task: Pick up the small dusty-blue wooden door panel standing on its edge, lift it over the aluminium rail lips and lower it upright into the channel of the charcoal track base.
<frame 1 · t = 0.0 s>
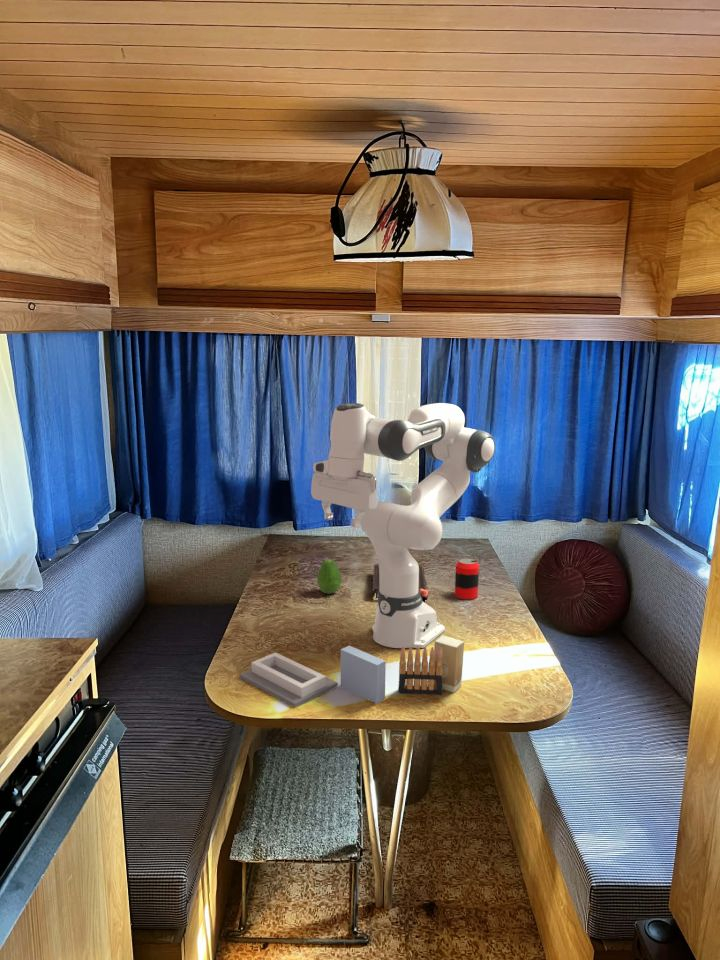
hand: (341, 522, 182), 39 cm above the table, tool pointing down, fingers open, 8 cm apart
door panel: (362, 693, 176), on the table
track base: (288, 682, 181), on the table
ammunition clip: (420, 693, 177), on the table
soda can: (466, 596, 240), on the table
diary: (398, 589, 247), on the table
skincare box: (447, 687, 180), on the table
avocado: (329, 593, 241), on the table
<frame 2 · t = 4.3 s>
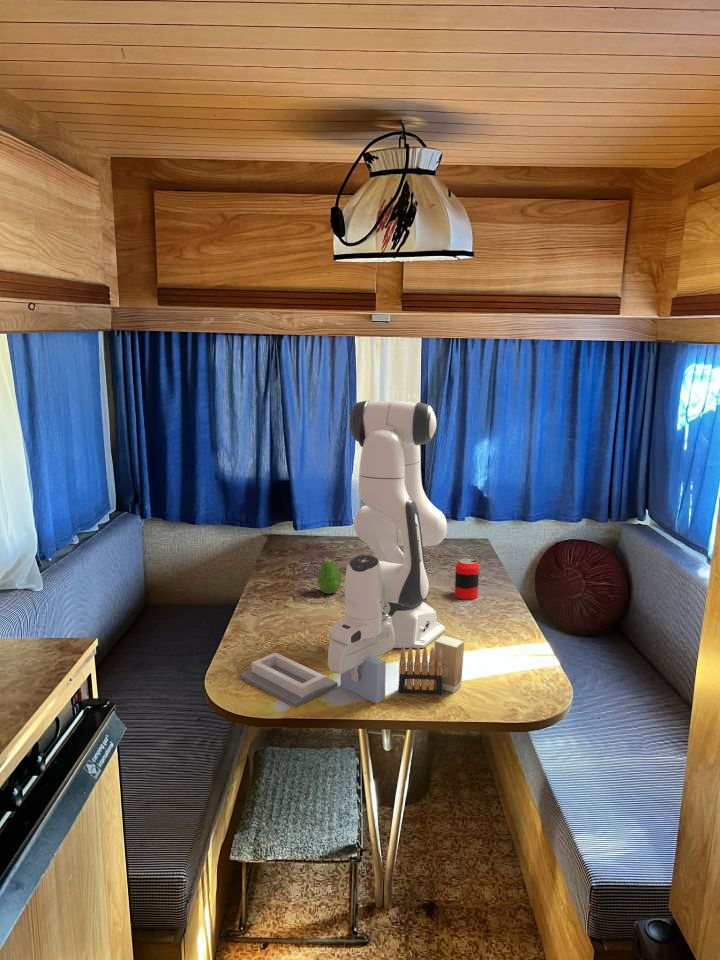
hand: (362, 677, 176), 4 cm above the table, tool pointing down, fingers closed on door panel, 3 cm apart
door panel: (362, 692, 176), on the table, touching gripper
everything else where it was.
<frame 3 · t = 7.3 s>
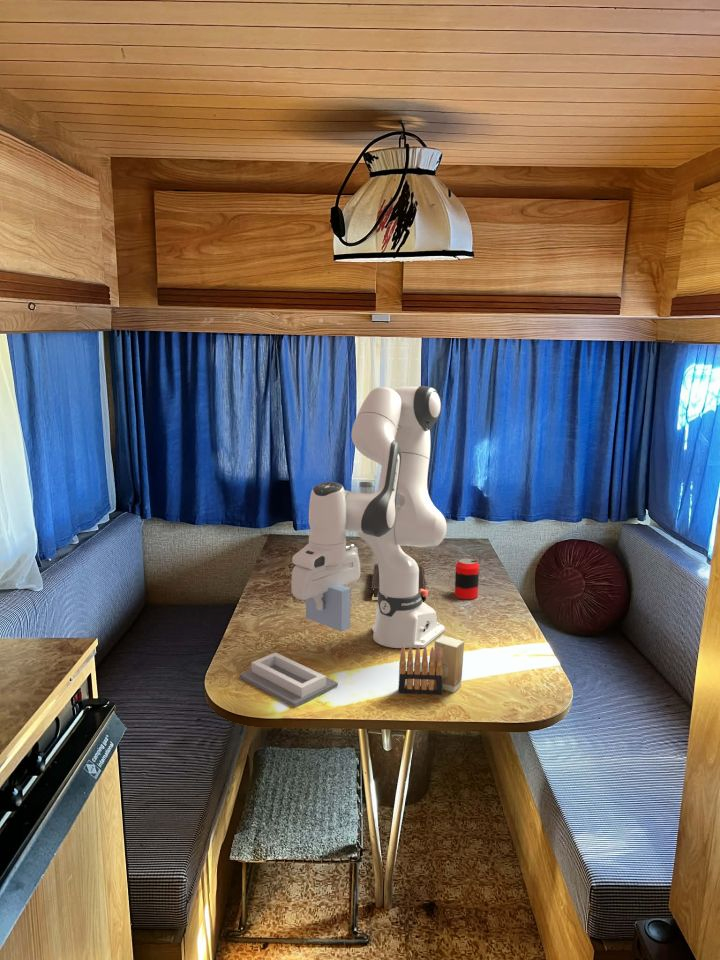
hand: (327, 606, 174), 21 cm above the table, tool pointing down, fingers closed on door panel, 3 cm apart
door panel: (327, 622, 175), point 17 cm above the table, touching gripper
everything else where it was.
when the fingers open (7 cm above the table, at t = 10.8 s): door panel drops 1 cm, resting on track base.
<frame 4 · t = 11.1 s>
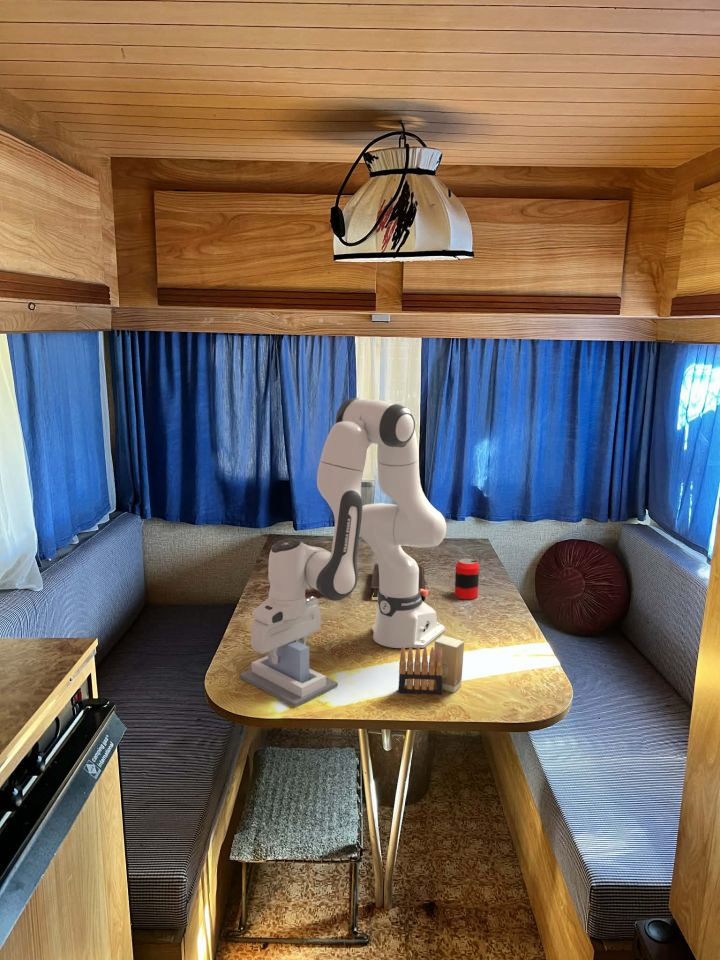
hand: (287, 657, 180), 7 cm above the table, tool pointing down, fingers open, 6 cm apart
door panel: (288, 678, 181), point 1 cm above the table, touching track base
everything else where it was.
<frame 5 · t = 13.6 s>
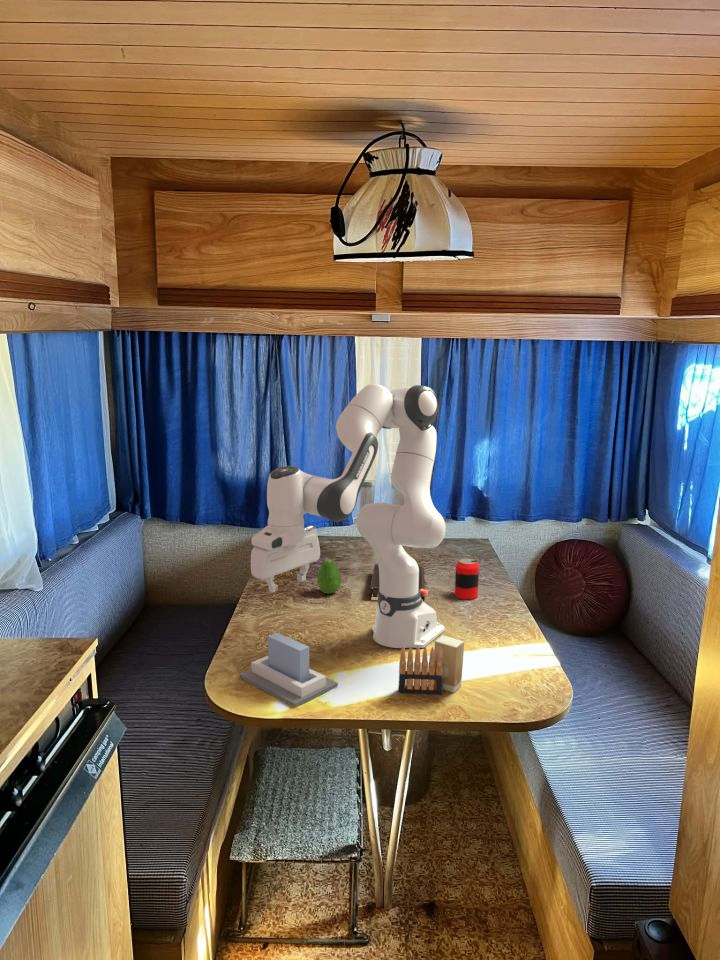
hand: (287, 586, 180), 24 cm above the table, tool pointing down, fingers open, 8 cm apart
nothing on the table moved.
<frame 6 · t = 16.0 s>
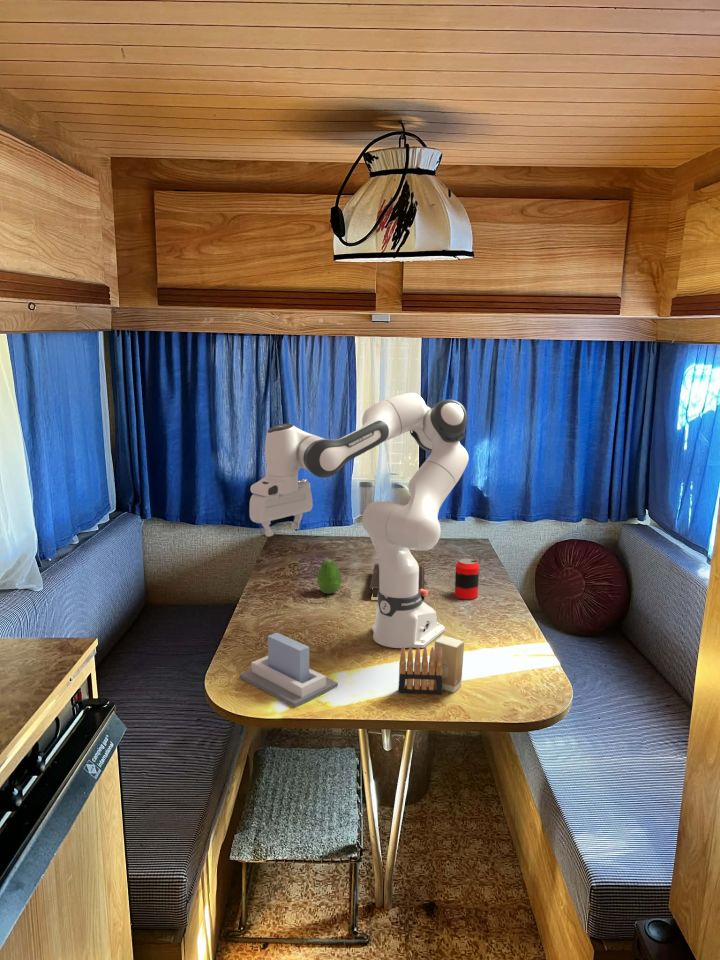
hand: (282, 532, 201), 31 cm above the table, tool pointing down, fingers open, 8 cm apart
nothing on the table moved.
at the end: door panel 0.1 cm off-centre on the track base, point 1.0 cm above the track base's base; door panel tilted 0°; the gripper is holding nothing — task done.
